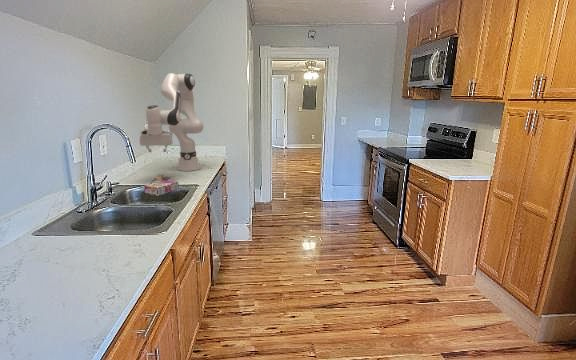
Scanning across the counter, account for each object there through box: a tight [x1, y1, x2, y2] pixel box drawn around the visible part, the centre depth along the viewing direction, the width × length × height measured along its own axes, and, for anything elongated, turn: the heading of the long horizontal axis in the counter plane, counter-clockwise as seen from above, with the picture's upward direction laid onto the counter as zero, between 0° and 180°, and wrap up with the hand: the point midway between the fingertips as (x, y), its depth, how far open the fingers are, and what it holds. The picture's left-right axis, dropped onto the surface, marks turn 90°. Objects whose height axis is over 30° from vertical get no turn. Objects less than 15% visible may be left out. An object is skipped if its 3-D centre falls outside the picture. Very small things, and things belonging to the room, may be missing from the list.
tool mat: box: [149, 176, 171, 184], centre depth 222 cm, size 24×10×1 cm, turn 8°
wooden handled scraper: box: [150, 173, 165, 184], centre depth 221 cm, size 17×6×3 cm, turn 9°
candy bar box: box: [144, 179, 180, 197], centre depth 201 cm, size 11×5×16 cm
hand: (157, 152), depth 219 cm, fingers open, 8 cm apart
